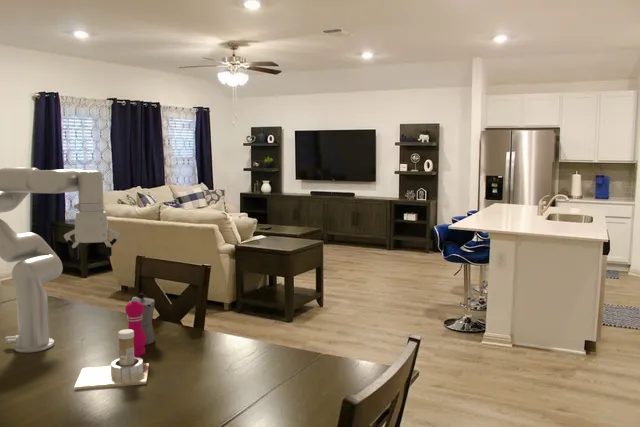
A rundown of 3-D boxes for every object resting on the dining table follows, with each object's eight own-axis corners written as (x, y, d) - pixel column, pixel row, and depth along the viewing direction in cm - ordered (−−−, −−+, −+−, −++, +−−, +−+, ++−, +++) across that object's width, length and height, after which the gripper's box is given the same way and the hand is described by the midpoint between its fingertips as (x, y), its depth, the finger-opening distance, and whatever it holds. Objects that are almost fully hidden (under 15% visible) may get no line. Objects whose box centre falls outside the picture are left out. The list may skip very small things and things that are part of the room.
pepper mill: (139, 358, 183) (138, 300, 181) (120, 356, 184) (118, 299, 182) (150, 350, 190) (149, 295, 188) (131, 348, 191) (130, 293, 189)
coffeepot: (163, 343, 198) (162, 294, 196) (138, 349, 191) (137, 299, 189) (143, 332, 209) (142, 286, 207) (119, 337, 202) (118, 290, 200)
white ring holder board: (74, 390, 158) (73, 375, 158) (82, 371, 172) (82, 357, 171) (146, 383, 163) (146, 369, 163) (148, 365, 177) (148, 352, 176)
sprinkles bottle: (116, 373, 168) (115, 331, 167) (129, 368, 172) (128, 327, 170) (124, 377, 165) (123, 334, 164) (137, 372, 169) (136, 330, 167)
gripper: (60, 209, 174) (62, 261, 176) (117, 208, 178) (119, 260, 180) (65, 206, 181) (67, 257, 183) (120, 206, 186) (121, 255, 188)
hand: (92, 258), depth 182 cm, fingers open, 9 cm apart
